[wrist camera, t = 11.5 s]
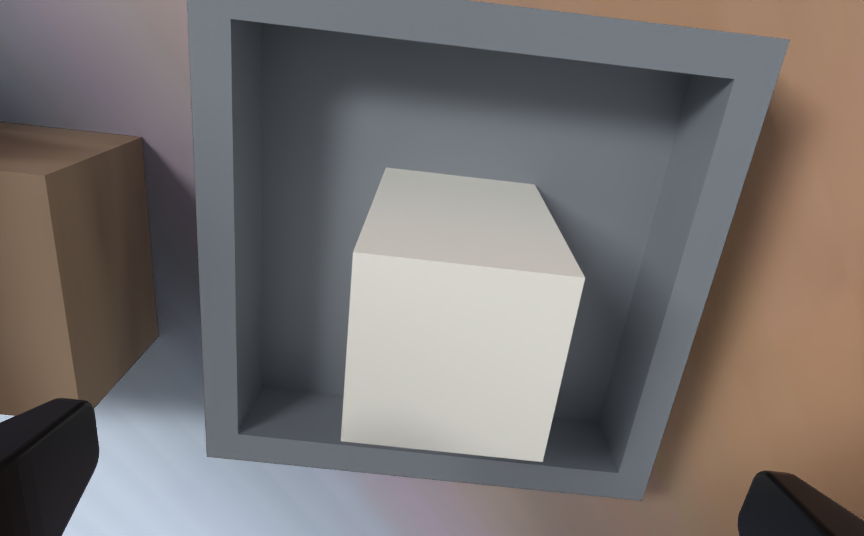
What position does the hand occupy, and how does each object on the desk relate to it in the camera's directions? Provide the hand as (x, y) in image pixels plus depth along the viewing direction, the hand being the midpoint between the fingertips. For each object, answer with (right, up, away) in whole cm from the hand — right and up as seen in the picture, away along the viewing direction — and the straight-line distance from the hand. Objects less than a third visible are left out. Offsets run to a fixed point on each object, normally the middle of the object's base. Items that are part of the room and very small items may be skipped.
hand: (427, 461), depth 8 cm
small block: (+1, +3, +11) cm, 11 cm away
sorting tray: (+1, +4, +11) cm, 12 cm away
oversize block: (-13, +4, +12) cm, 18 cm away
